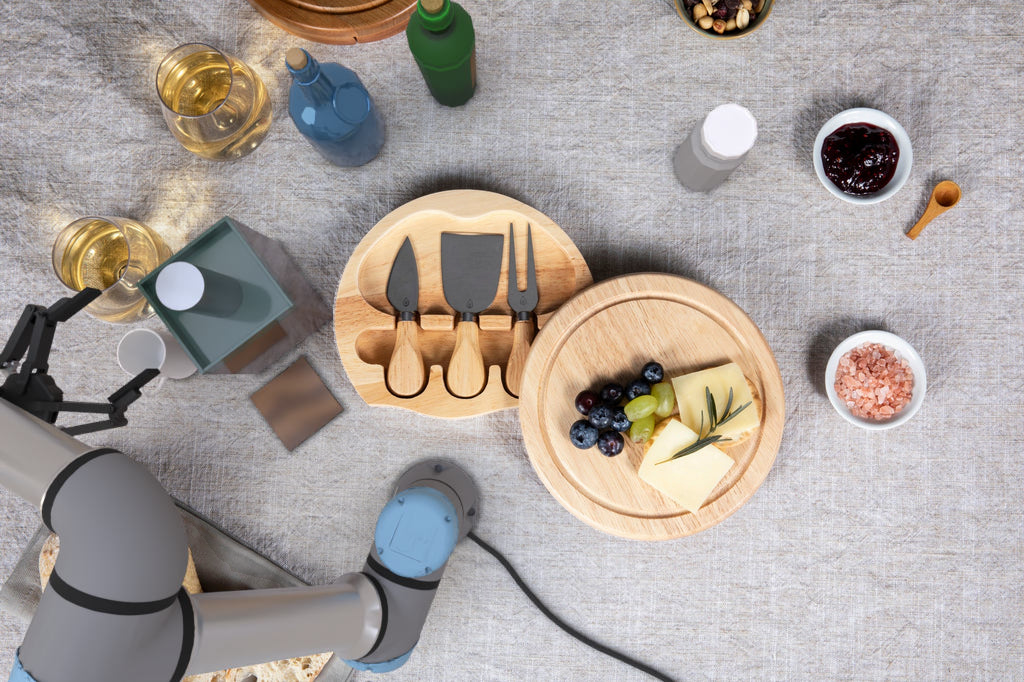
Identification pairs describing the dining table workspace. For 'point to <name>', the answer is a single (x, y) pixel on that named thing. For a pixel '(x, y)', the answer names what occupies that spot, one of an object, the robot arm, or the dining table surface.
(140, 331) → the mug
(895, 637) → the dining table surface
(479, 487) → the dining table surface
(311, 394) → the brown coaster
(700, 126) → the jar
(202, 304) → the can
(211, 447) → the dining table surface
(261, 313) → the teal boxy piece
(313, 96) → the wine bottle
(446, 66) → the bottle
